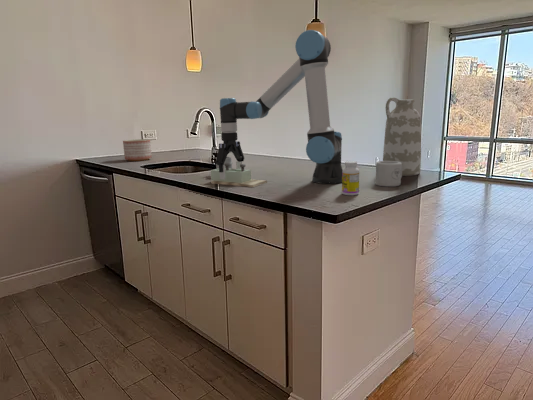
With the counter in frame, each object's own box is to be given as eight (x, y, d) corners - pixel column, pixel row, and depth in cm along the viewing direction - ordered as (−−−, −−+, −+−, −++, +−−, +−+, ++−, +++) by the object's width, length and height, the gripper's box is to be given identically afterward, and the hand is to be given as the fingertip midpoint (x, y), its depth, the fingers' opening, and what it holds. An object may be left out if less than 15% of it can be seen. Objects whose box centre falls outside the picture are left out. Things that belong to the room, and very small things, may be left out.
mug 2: (387, 187, 167) (388, 164, 165) (370, 184, 176) (370, 161, 174) (410, 184, 173) (411, 161, 171) (392, 181, 182) (393, 159, 180)
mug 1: (225, 177, 204) (223, 154, 202) (211, 175, 213) (210, 153, 210) (236, 175, 210) (235, 153, 207) (222, 173, 218) (221, 151, 215)
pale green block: (251, 180, 188) (250, 169, 187) (241, 183, 181) (241, 172, 180) (221, 177, 197) (220, 168, 196) (211, 180, 190) (210, 170, 189)
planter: (120, 161, 286) (117, 141, 283) (132, 158, 305) (131, 139, 301) (144, 161, 283) (142, 141, 280) (156, 158, 301) (154, 139, 298)
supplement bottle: (339, 192, 159) (340, 161, 157) (355, 192, 160) (356, 160, 157) (344, 196, 153) (345, 163, 150) (361, 195, 153) (362, 162, 151)
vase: (403, 169, 215) (407, 97, 206) (428, 174, 198) (433, 95, 189) (372, 172, 208) (374, 98, 199) (395, 177, 191) (398, 96, 182)
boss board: (267, 182, 186) (266, 163, 184) (253, 187, 176) (252, 167, 174) (226, 179, 198) (225, 161, 196) (211, 183, 188) (210, 164, 186)
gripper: (237, 130, 196) (239, 172, 201) (205, 133, 176) (208, 180, 180) (250, 130, 193) (251, 173, 197) (219, 133, 172) (221, 181, 176)
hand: (231, 176), depth 189 cm, fingers open, 13 cm apart
